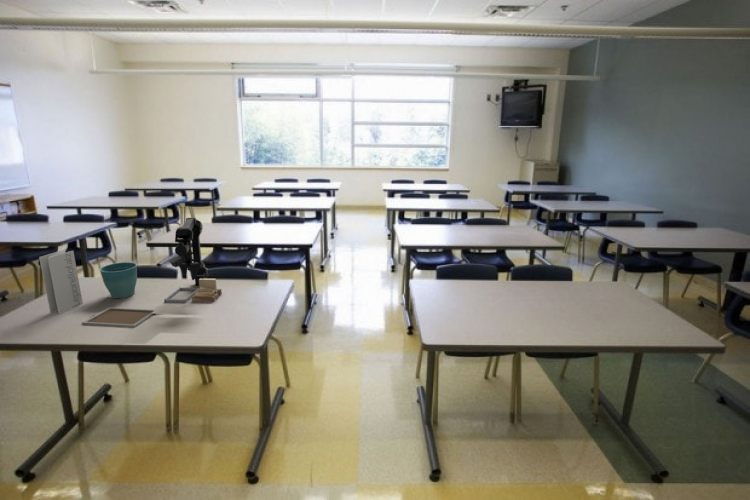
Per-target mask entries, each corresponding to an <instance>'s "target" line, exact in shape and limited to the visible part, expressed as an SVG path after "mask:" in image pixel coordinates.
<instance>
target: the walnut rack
mask: <svg viewBox="0 0 750 500" xmlns="http://www.w3.org/2000/svg"><path fill="white" fill-rule="evenodd" d="M214 293H215V295H214V296H213V297H196V296H195V295H193V296H192V298H191V301H192V302H194V303H195V302H200V303H201V302H208V303H211V302H212V303H215V302H216V301H217V300H218V298H220V297H221V296H222V288H217V292H214Z"/></svg>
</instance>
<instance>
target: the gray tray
mask: <svg viewBox="0 0 750 500" xmlns="http://www.w3.org/2000/svg"><path fill="white" fill-rule="evenodd" d="M198 290H200V287H185V286H184V287H179V288H177V289H176V290H175V291H173V292H172V293H171V294H169V295H168V296H167V297H166V298H164V299H163V300H164V303H187V302H189V300H191V299H192V296H193V295H195V293H196V292H197V291H198ZM181 291H187V292H189V291H191V293H190V294H189V295H188V296H187V297H186V298H184V299H183V298H173V297H175V296H176V295H178V294H179V293H180V292H181Z"/></svg>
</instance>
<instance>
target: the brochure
mask: <svg viewBox="0 0 750 500" xmlns="http://www.w3.org/2000/svg"><path fill="white" fill-rule="evenodd" d="M38 258H39V263H40V268H41V272H42V278H43V279H42V280H43V284H44V288H45V292H46V293H45V294H46V299H47V304H48V308H49V313H50V314H51V313H55V312H56V311H57V312H58V314H59V315H61V314H62V313H65V312H67V311H69V310H72V309H74V308H76V307H79V306H82V305H83V297H82V291H81V285H80V280H79V275H78V270H77V263H76V259H75V252H74V250H70V251H67V252H66V249H63V250H58V251H56V252H52V253H48V254H45V255H42V256H39V257H38Z"/></svg>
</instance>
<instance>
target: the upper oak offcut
mask: <svg viewBox="0 0 750 500" xmlns="http://www.w3.org/2000/svg"><path fill="white" fill-rule="evenodd" d="M214 294H215V293H214V291H208V290H198V291H197V292H196V293H195V296H196V297H212V296H213V295H214Z"/></svg>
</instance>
